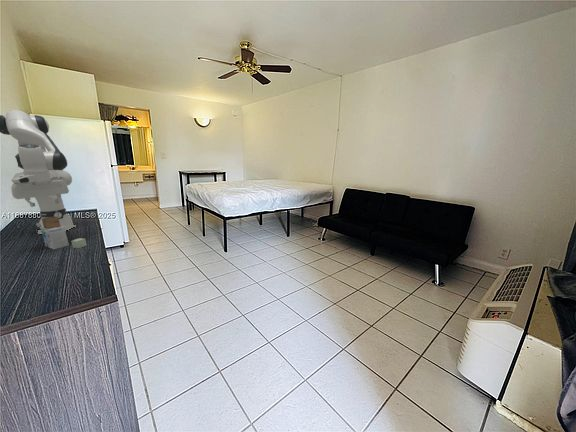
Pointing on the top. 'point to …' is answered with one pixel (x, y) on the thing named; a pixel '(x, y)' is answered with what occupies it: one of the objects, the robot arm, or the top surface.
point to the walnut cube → (51, 222)
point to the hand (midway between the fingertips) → (45, 204)
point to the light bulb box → (55, 237)
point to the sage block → (79, 243)
